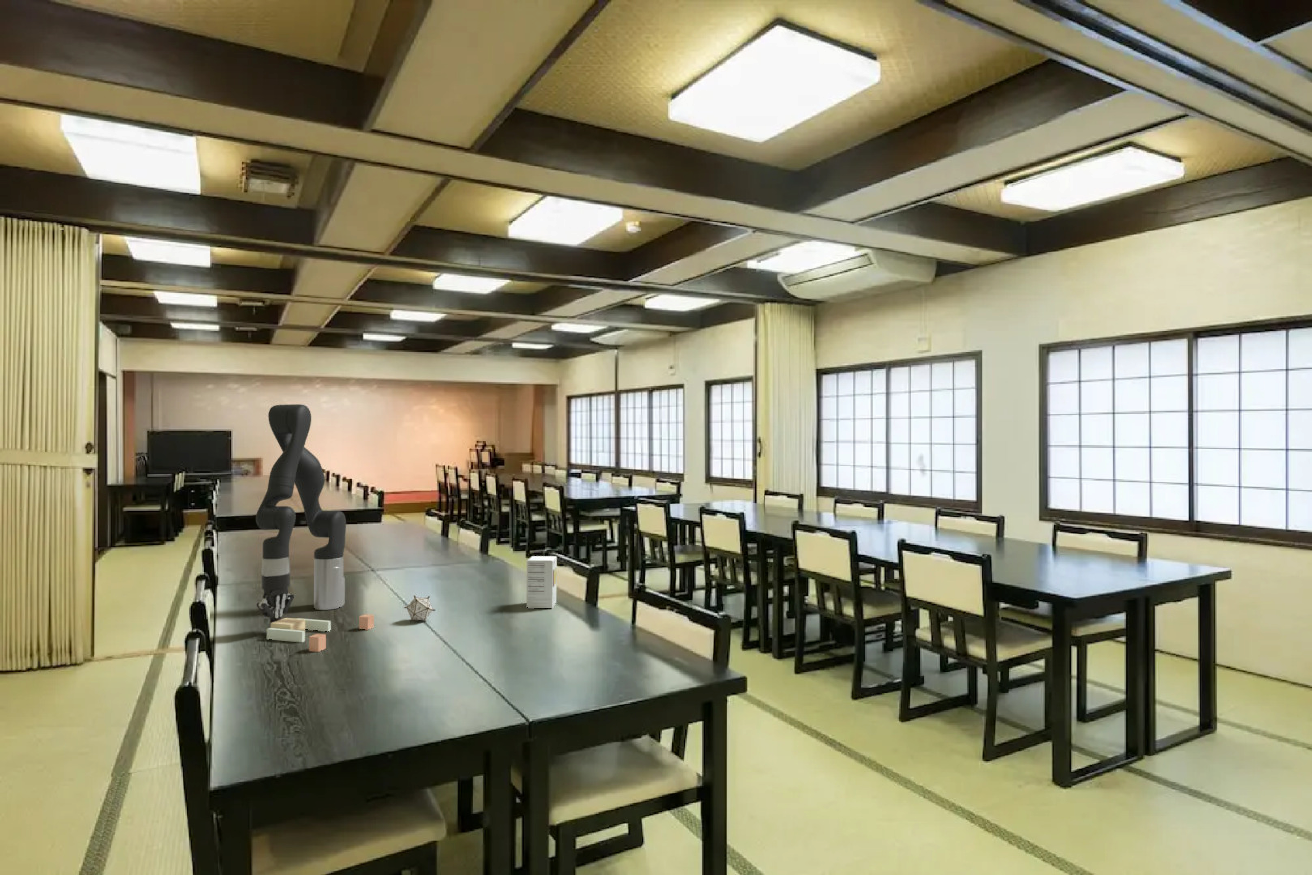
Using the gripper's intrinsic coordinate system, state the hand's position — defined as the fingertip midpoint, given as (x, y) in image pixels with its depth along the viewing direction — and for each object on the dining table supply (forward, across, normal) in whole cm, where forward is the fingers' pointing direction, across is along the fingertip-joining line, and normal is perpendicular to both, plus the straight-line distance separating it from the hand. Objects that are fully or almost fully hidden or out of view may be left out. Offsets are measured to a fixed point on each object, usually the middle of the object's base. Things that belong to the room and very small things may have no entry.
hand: (275, 629), depth 216 cm
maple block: (+1, 0, +5) cm, 5 cm away
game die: (+1, -24, +34) cm, 41 cm away
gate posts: (+1, 0, +23) cm, 23 cm away
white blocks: (+1, 0, +8) cm, 8 cm away
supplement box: (+1, -53, +64) cm, 83 cm away
